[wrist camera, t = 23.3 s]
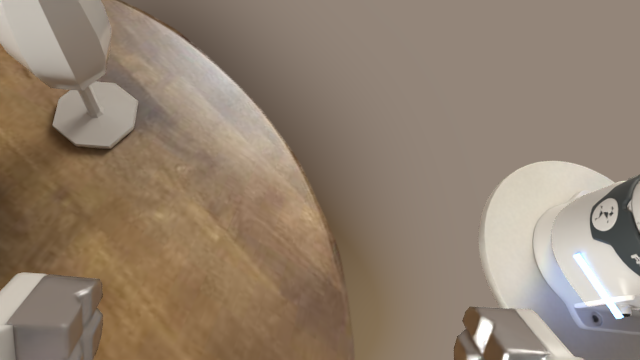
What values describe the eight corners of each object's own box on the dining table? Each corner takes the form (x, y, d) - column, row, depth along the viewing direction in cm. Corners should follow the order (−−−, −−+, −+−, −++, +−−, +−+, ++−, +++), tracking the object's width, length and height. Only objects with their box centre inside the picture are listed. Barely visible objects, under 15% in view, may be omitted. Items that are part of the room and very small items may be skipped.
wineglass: (115, 162, 49) (48, 28, 31) (38, 133, 49) (-78, -20, 30) (152, 100, 53) (112, -53, 34) (81, 73, 53) (1, -97, 34)
